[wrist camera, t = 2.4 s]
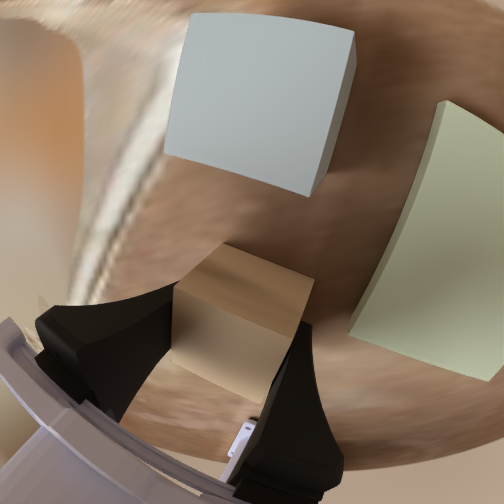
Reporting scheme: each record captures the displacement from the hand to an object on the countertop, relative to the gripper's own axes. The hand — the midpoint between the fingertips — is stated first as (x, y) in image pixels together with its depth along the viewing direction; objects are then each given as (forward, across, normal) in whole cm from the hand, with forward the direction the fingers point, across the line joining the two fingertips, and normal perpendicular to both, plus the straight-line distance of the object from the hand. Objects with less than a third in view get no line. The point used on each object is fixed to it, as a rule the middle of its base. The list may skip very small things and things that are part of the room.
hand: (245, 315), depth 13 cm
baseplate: (+1, -9, -6) cm, 11 cm away
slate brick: (+2, +1, -9) cm, 9 cm away
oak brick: (+1, 0, 0) cm, 1 cm away
